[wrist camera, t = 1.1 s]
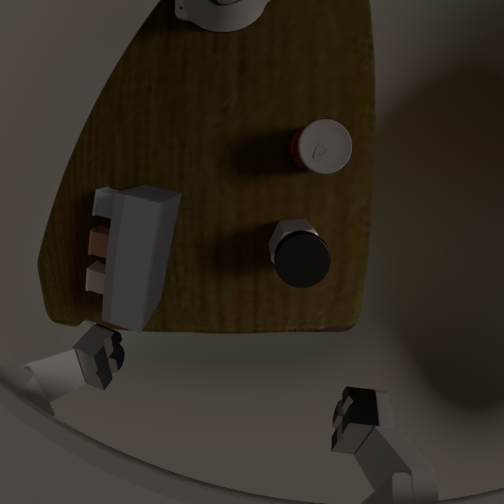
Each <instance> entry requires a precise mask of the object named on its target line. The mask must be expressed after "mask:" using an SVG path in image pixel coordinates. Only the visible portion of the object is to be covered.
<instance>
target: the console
mask: <svg viewBox="0 0 504 504" xmlns="http://www.w3.org/2000/svg"><path fill="white" fill-rule="evenodd" d="M181 195H182V193H179V192H175V191H170V190H166V189H162V188H158V187H153V186H149V185H142V186H138V187H134V188H130V189H127V190H123V191H119V192H116V193H115V199H114V205H113V211H112V218H111V225H110V232H109V240H108V248H107V257H106V267H105V278H104V290H103V306H102V320H103V321H106V322H109V323H112V324H115V325H118V326H121V327H124V328H127V329H130V330H133V331H136V332H139V333H141V331H142V329H143V328H144V326H145V325H146V323H147V321H148V320H149V318H150V316H151V315H152V313H153V311H154V310H155V308H156V307H157V305H158V303H159V302H160V300H161V297H162V291H163V285H164V279H165V274H166V268H167V263H168V257H169V252H170V247H171V242H172V237H173V232H174V227H175V222H176V217H177V213H178V208H179V204H180V199H181Z"/></svg>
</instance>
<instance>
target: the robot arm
mask: <svg viewBox="0 0 504 504" xmlns="http://www.w3.org/2000/svg"><path fill="white" fill-rule="evenodd" d="M269 1H270V0H175V15H176V17H177V18H178V19H181V20H187V21H191V22H193V23H195V24H197V25H198V26H200V27H202V28H204V29H207V30H210V31H215V32H229V31H235V30H238V29H241V28H244V27H246V26H248V25H250V24H251V23H253V22H254V21H255V20H256V19H257V18H258V17H259V16H260V15H261V13H262V12H263V10H264V7H265V5H266V4H267V2H269ZM181 7H183V9H180V8H181ZM121 341H122V337H121V334H120V333H119V332H118V331H115V330H113V329H110V328H107V327H105V326H102V325H100V324H97V323H94V322H92V321H90V320H85V321H83V322H82V323H81V324H80V325H79V326H78V327H77V328H76V329H75V330H74V331H73V332H72V333H71V334H70V335H69V336H68V337H67V338H66V339H65V340H64V341H63V342H62V343H61V342H56V343H53V344H49V345H46V346H43V347H40V348H36V349H33V350H30V351H27V352H24V353H20V354H17V355H13V356H11V357H10V358H9V359H8V360H7V361H6V362H5V363H4V364H3V365H2V366H1V367H0V504H324V503H313V502H303V501H295V500H288V499H281V498H274V497H268V496H263V495H257V494H252V493H247V492H243V491H238V490H234V489H230V488H225V487H221V486H218V485H214V484H210V483H206V482H202V481H199V480H196V479H193V478H189V477H186V476H183V475H180V474H177V473H174V472H171V471H168V470H166V469H163V468H160V467H157V466H155V465H152V464H149V463H147V462H144V461H142V460H139V459H137V458H134V457H132V456H130V455H127V454H125V453H123V452H121V451H118V450H116V449H113V448H112V447H110V446H107V445H105V444H103V443H101V442H99V441H97V440H95V439H93V438H91V437H89V436H87V435H85V434H84V433H82V432H80V431H78V430H76V429H74V428H72V427H71V426H69V425H67V424H65V423H63V422H62V421H60V420H58V419H56V418H55V417H53V416H54V411H53V409H52V408H51V406H50V403H49V402H51V401H53V400H55V399H57V398H59V397H62V396H64V395H66V394H68V393H69V392H71V391H73V390H75V389H77V388H79V387H81V386H83V385H85V384H86V383H87V384H90V385H92V386H94V387H97V388H99V389H101V390H105V389H106V387H107V386H108V384H109V383H110V382H111V380H112V374H113V373H115V372H118V371H119V369H120V368H121V366H122V364H123V361H124V354H125V353H124V349H123V347H122V346H121V345H120V342H121ZM332 426H333V427H334V429H335V432H334V434H333V435H332V448H331V451H332V452H339V453H348V454H354V456H355V458H356V460H357V461H358V463H359V465H360V467H361V468H362V470H363V472H364V474H365V475H366V477H367V479H368V480H369V482H370V484H371V486H372V487H373V489H374V491H375V492H374V493H373V494H371V495H370V496H369V497H368V498H367V499H366V500H364V501H363V502H362V504H504V488H501V489H497V490H493V491H488V492H484V493H480V494H475V495H470V496H465V497H459V498H453V499H447V500H440V501H438V492H437V485H436V476H435V470H434V469H433V468H432V467H431V466H430V464H429V463H428V462H427V461H426V460H425V459H424V457H422V455H421V454H420V453H419V452H418V451H417V450H416V448H415V447H414V446H413V445H412V444H411V442H410V441H409V440H408V439H407V438H406V437H405V435H404V434H403V433H402V432H401V431H400V430H399V429H398V428H396V427H394V423H393V416H392V409H391V403H390V396H389V393H388V391H384V390H373V389H364V388H354V387H346V388H345V389H344V391H343V393H342V400H340V401H338V403H337V406H336V408H335V411H334V415H333V424H332Z"/></svg>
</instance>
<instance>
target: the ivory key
mask: <svg viewBox="0 0 504 504" xmlns="http://www.w3.org/2000/svg"><path fill="white" fill-rule="evenodd" d="M105 267H106V264H102V263H100V261H96V262H95V263H93V264H92V265H91V266H89V267H88V268H87V275H86V291H89V290H91V291H94V292H97V293H100V294H103V290H104V278H105Z"/></svg>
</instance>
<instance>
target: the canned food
mask: <svg viewBox="0 0 504 504" xmlns="http://www.w3.org/2000/svg"><path fill="white" fill-rule="evenodd" d="M351 152H352V142H351V138H350V135H349V133H348V132H347V130H346V129H345V128H344V127H343V126H342V125H341V124H339V123H338V122H335V121H333V120H328V119H322V120H317V121H314V122H312V123H310V124H309V125H307V126H306V127H304V128H303V129H301V130H300V131H298V132H297V133H296V134H295V136H294V137H293V139H292V142H291V146H290V153H291V157H292V159H293V161H294V162H295V164H296V165H297V166H298V167H300V168H301V169H303V170H306V171H310V172H314V173H320V174H329V173H334V172H336V171H338V170H340V169H341V168H342V167H344V165H345V164H346V163H347V162H348V160H349V158H350V156H351Z"/></svg>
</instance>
